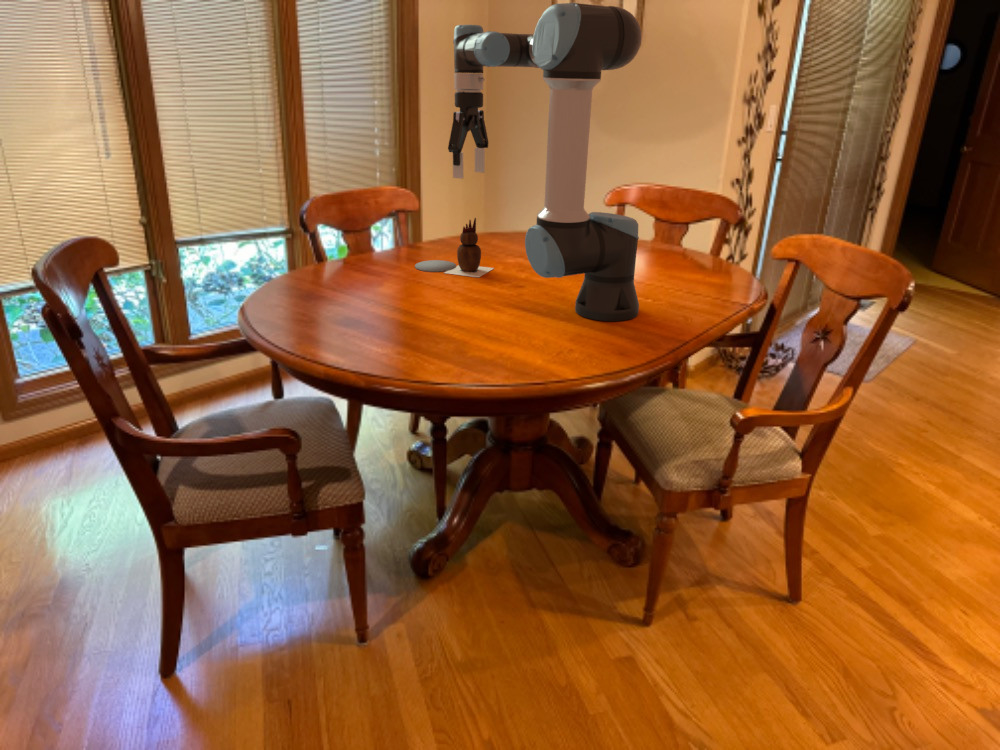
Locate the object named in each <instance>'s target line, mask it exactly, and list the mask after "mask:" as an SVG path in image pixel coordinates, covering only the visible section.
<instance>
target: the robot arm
mask: <svg viewBox="0 0 1000 750" xmlns="http://www.w3.org/2000/svg"><path fill="white" fill-rule="evenodd" d="M641 44H642V29H641V26H640V24H639V22H638V20H637V18H636V17H635V16H634V15H633V13H631V12H630V11H628V10H626V9H625V8H623V7H619V6H614V5H612V6H611V5H608V6H606V5H598V4H587V3H586V4H585V3H578V2H566V3H564V2H563V3H555V4H552V5H550V6H549V7H547V8H546V9H545V10H544V11H543V12H542V14H541V16H540V17H539V19H538V20H537V23H536V25H535V29H534V33H508V32H498V31H490V30H487V31H485V32H484V28H483V27H482V25H477V24H457V25H456V26H455V27H454V30H453V61H454V62H453V64H454V65H453V67H454V69H453V70H454V74H453V77H454V78H453V79H454V81H453V82H454V83H453V87H454V90H455V91H456V92H455V93H454V106H455V108H459V111H453V115H452V117H453V118H452V125H451V130H450V135H449V141H448V144H447V145H448V146H447V150H448V152H449V153H452V178H453V179H464V152H462V150H463V149H464V145H465V142H466V139H467V135H468V132H471V135H472V138H473V141H474V144H475V147H474V173H482V174H483V173H485V170H486V169H485V165H486V164H485V158H486V157H485V155H486V151H485V150H486V149H489V137H488V133H487V128H486V121H485V114H484V113H485V112H484V110H482V109H479V108H483V107H484V93H483V92H481V91H482V90H484V81H485V78H484V67H487V68H490V67H492V68H495V67H505V68H506V67H513V68H517V67H519V68H536V69H541V70H543V72H542V73H543V74H542V80H543V81H544V82H545V83H546V84H547V86H548V88H549V104H548V121H547V122H548V123H547V140H546V141H547V143H546V144H547V145H546V146H547V147H546V163H545V165H546V166H545V184H544V185H545V186H544V201H543V202H544V203H543V204H544V206H543V208H541V210H539V211H538V213H537V214H536V224H534V225H532V226H530V227H529V228H528V229H527V231H526V233H525V238H524V248H525V253H526V256H527V259H528V260H527V261H528V262H529V264H530V266H531V267H532V269H533V270H534V272H535V273H536V274H537V275H538V276H540V277H542V278H544V279H545V278H546V279H547V278H548V279H549V278H556V279H558V278H561V279H562V278H563V277H568V276H577V275H583V274H584V278H583V282H582V283H581V287H580V288H579V291H578V294H577V297H576V298H575V303H574V304H575V306H574V309H575V310H574V312H575V313H576V314H577V315H579V316H581V317H583V318H587V319H590V320H595V321H600V322H601V321H602V322H622V321H623V322H624V321H629V320H632V319H634V318H636V317H637V316H638V315H639V309H640V302H639V300H638V299H639V298H638V294H637V290H636V286H635V272H636V260H637V253H638V242H639V238H640V237H639V223H638V221H637V220H636V219H635V218H634V217H630V216H627V215H626V216H625V215H621V214H616V213H609V212H601V211H593V212H589V213H588V212H587V211H586V209H585V196H586V183H587V182H586V181H587V170H588V169H587V168H588V167H587V166H588V157H589V156H588V154H589V144H590V143H589V141H590V128H591V127H590V126H591V125H590V124H591V115H592V113H591V112H592V111H591V110H592V102H593V101H592V99H593V98H592V97H593V90H594V88H595V87H596V86H597V85H598V84H599V83H600V82H601V79H602V71H613V70H618V69H621V68H624V67H625V66H627V65H628V64H630V63H631V62H632V61H633V60H634V59H635V58H636V56H637V55H638V53H639V50H640V47H641Z"/></svg>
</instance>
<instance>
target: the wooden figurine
mask: <svg viewBox="0 0 1000 750" xmlns="http://www.w3.org/2000/svg"><path fill="white" fill-rule="evenodd" d="M459 239H460V240H459V241H460V243H461V244H459V246H458V247H457V251H456V257H457V263H458V265H459V267H460V269H461V270H463V271H466V272H472V271H476V270H477V269H478V267H479V266H480V264H481V259H482V251H481V249H482V248H481V247H480V246H479V245H478V244H477V243H478V240H479V236H478V233H477V218H476V217H474V220H473V224H472V220H471V219H469V222H468V223H466V224H465V226H463V227H462V232H461V233H460V237H459Z"/></svg>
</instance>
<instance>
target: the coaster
mask: <svg viewBox="0 0 1000 750" xmlns="http://www.w3.org/2000/svg"><path fill="white" fill-rule="evenodd" d="M456 266H457V265H456V263H454V262H452V261H448V260H443V259H442V260H438V259H434V260H433V259H432V260H424V261H420V262H417V263H416V264H414V267H415V269H416V270H418V271H422V272H429V273H440V272H443V273H444V272H446V271H448V270H451V269H454V268H455V267H456Z"/></svg>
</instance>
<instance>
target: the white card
mask: <svg viewBox="0 0 1000 750" xmlns="http://www.w3.org/2000/svg"><path fill="white" fill-rule="evenodd" d="M494 269H495V268H494V267H488V266H480V265H479V267H478V269H477V270H476V271H472V272H466V271H463V270H461V269H460V267H459V264H458V265H456V267H455V268H454V269H451V270H448V271H443V274H447V275H456V276H462V277H463V276H464V277H472V278H480V277H482V276H484V275H486V274H487V273H489V272H491V271H492V270H494Z"/></svg>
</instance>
